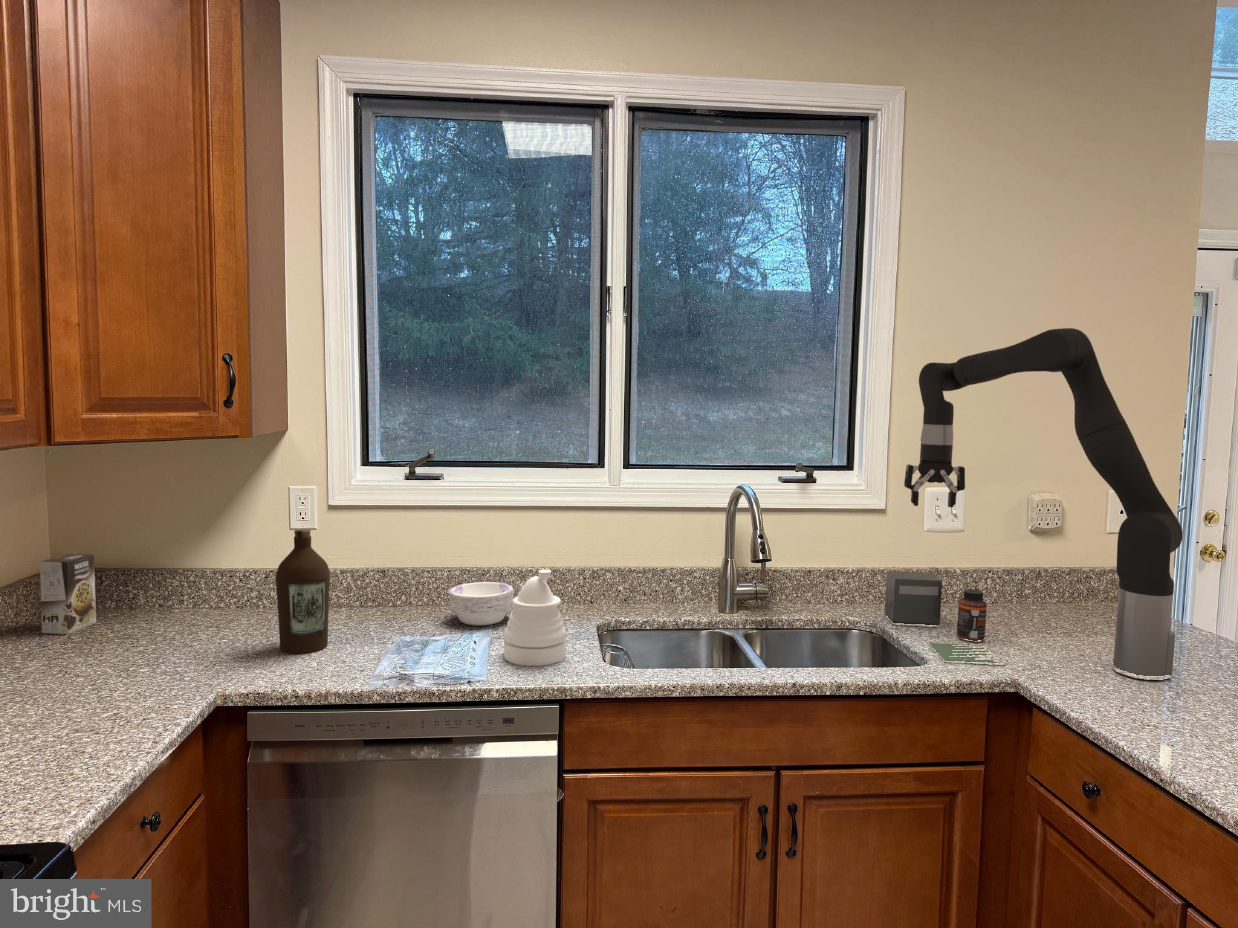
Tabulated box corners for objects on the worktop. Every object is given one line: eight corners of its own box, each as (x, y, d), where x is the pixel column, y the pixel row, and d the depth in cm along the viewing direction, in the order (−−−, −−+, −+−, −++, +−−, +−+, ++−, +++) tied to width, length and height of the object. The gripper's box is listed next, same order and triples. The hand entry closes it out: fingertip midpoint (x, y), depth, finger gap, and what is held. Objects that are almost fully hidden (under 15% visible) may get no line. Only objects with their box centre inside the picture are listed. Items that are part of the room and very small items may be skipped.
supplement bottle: (981, 644, 180) (984, 595, 180) (953, 639, 184) (956, 591, 183) (987, 638, 185) (990, 590, 184) (960, 633, 189) (963, 586, 188)
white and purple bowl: (443, 615, 196) (443, 583, 195) (504, 609, 202) (504, 578, 201) (455, 632, 182) (456, 598, 181) (520, 626, 188) (521, 593, 187)
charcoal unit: (928, 616, 203) (931, 572, 202) (940, 628, 193) (943, 581, 192) (884, 614, 204) (886, 570, 203) (893, 625, 194) (895, 579, 193)
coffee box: (70, 634, 175) (67, 561, 173) (40, 633, 175) (37, 560, 174) (98, 622, 184) (95, 553, 182) (70, 622, 184) (67, 552, 183)
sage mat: (984, 648, 178) (984, 645, 178) (1004, 665, 166) (1004, 663, 166) (928, 645, 179) (929, 642, 179) (944, 662, 167) (944, 659, 167)
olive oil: (272, 644, 171) (270, 528, 169) (324, 636, 177) (322, 524, 175) (282, 658, 162) (280, 536, 160) (336, 649, 168) (335, 531, 166)
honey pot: (574, 649, 172) (575, 566, 170) (553, 668, 159) (554, 579, 158) (518, 643, 175) (519, 562, 173) (493, 661, 163) (494, 574, 161)
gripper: (911, 442, 199) (907, 507, 200) (971, 444, 198) (967, 509, 199) (903, 440, 206) (900, 503, 208) (961, 442, 205) (957, 505, 206)
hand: (933, 506), depth 203 cm, fingers open, 8 cm apart
